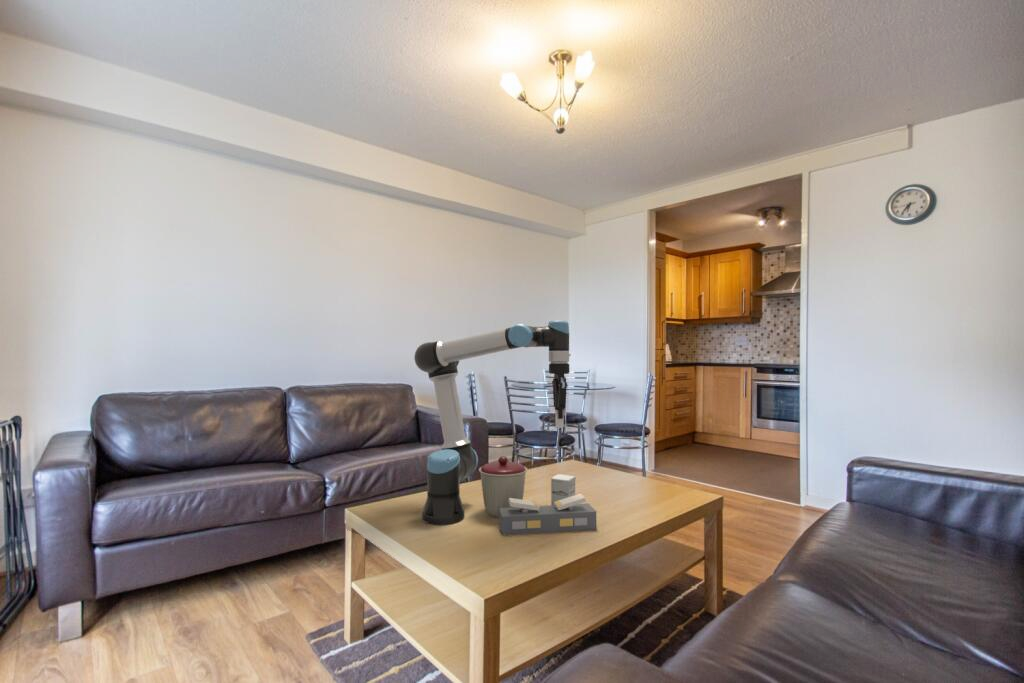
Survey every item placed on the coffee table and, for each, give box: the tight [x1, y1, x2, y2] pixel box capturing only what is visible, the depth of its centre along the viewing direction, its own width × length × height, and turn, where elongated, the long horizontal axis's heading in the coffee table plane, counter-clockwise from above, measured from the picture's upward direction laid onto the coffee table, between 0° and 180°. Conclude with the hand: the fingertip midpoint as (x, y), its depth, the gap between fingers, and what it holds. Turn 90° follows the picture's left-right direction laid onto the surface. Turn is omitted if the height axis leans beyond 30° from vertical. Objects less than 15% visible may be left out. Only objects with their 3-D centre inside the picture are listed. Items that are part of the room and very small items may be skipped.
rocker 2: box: [554, 493, 587, 510], centre depth 163 cm, size 10×5×2 cm, turn 99°
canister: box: [478, 455, 528, 518], centre depth 176 cm, size 18×18×21 cm
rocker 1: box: [508, 498, 541, 511], centre depth 161 cm, size 10×5×2 cm, turn 98°
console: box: [498, 502, 598, 536], centre depth 162 cm, size 32×9×8 cm, turn 98°
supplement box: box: [550, 473, 576, 505], centre depth 180 cm, size 7×7×13 cm
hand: (559, 427), depth 173 cm, fingers closed
